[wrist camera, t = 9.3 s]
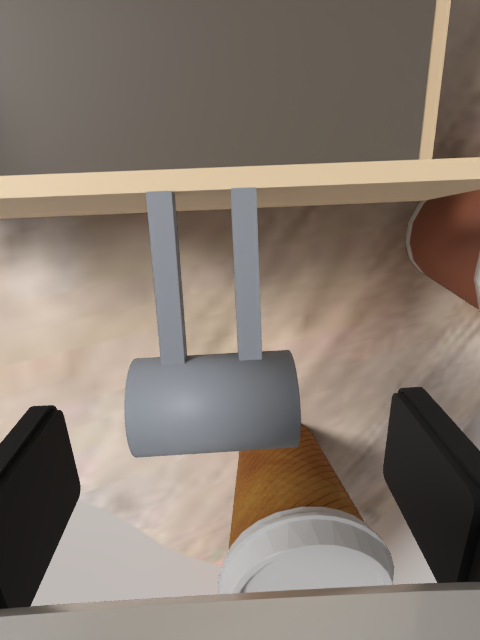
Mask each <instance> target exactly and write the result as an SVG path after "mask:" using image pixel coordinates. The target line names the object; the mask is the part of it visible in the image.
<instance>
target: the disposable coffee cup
mask: <svg viewBox="0 0 480 640" xmlns="http://www.w3.org/2000/svg"><path fill="white" fill-rule="evenodd" d="M393 574H394V565H393V561H392V557H391V553H390V552H389V550H388V548H387V546H386V545H385V543H384V542H383V540H382V539H381V538H380V536H379V535H378V534H377V533H375V532H374V531H373V530H372V529H371V528H370V527H369V526H368V525H367V524H366V523H365V522H364V520H363V519H362V517H361V515H360V514H359V512H358V510H357V508H356V507H355V506H354V503H353V502H352V500H351V499H350V497H349V495H348V493H347V492H346V490H345V488H344V487H343V485H342V483H341V481H340V480H339V479H338V476H337V475H336V473H335V471H334V470H333V468H332V467H331V465H330V463H329V461H328V460H327V458H326V456H325V455H324V453H323V451H322V450H321V448H320V446H319V444H318V443H317V441H316V440H315V438H314V436H313V434H312V433H311V432H310V431H309V430H308V429H307V428H306V427H305V426H303V425H302V424H301V432H300V441H299V445H298V447H292V448H276V449H261V450H245V451H239V460H238V469H237V478H236V487H235V496H234V505H233V515H232V524H231V533H230V542H229V551H228V553H227V555H226V557H225V560H224V563H223V566H222V568H221V571H220V574H219V581H218V587H219V594H233V593H250V592H268V591H285V590H303V589H322V588H341V587H360V586H379V585H393Z"/></svg>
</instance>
